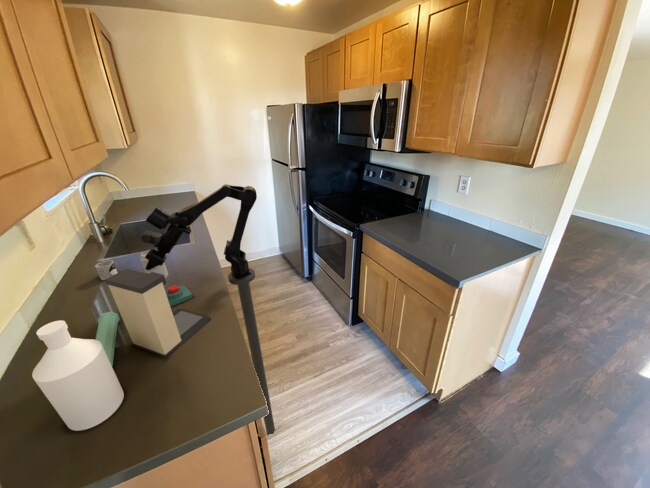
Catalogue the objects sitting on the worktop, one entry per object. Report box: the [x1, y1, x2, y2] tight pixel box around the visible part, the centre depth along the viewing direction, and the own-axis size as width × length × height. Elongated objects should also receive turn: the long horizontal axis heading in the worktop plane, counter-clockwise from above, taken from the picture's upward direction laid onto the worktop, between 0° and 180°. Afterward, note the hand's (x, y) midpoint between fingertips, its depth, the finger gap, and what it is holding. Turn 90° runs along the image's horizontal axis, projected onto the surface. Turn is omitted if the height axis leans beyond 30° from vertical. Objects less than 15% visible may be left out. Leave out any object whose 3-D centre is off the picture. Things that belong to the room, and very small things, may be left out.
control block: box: [165, 285, 194, 307], centre depth 108 cm, size 10×9×4 cm
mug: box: [94, 259, 119, 281], centre depth 127 cm, size 10×7×7 cm
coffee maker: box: [103, 268, 212, 359], centre depth 86 cm, size 18×15×24 cm
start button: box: [167, 284, 179, 294], centre depth 107 cm, size 4×4×2 cm
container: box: [94, 311, 121, 367], centre depth 85 cm, size 6×6×25 cm
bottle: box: [31, 319, 125, 432], centre depth 63 cm, size 12×12×25 cm
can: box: [139, 249, 169, 280], centre depth 110 cm, size 8×8×12 cm
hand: (150, 264), depth 110 cm, fingers closed on can, 7 cm apart
